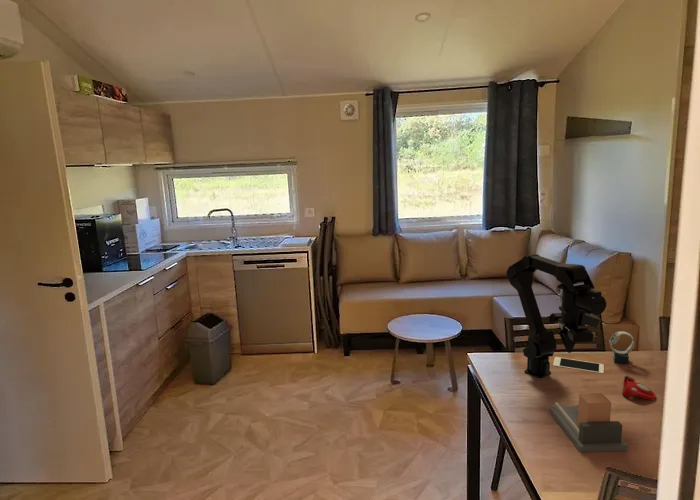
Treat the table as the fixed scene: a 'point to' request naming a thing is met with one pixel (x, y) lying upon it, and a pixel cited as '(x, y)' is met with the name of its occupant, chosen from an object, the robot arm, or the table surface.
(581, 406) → the brown block
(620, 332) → the watch
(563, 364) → the cell phone
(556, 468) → the table surface
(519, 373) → the table surface
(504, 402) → the table surface
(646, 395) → the red tape dispenser
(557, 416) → the guide track
